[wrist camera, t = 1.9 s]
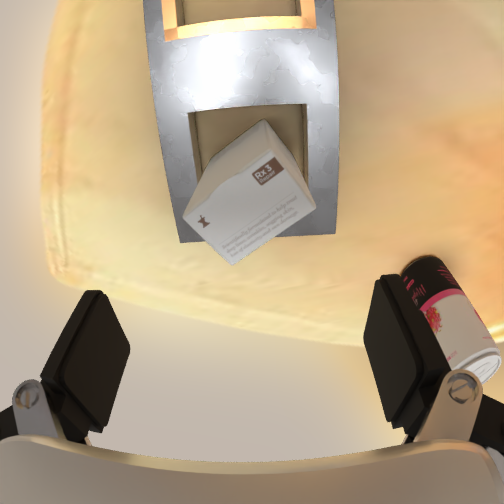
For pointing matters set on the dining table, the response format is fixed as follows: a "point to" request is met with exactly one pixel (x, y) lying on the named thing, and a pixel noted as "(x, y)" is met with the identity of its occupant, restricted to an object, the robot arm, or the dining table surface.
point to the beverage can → (452, 318)
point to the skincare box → (248, 194)
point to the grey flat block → (246, 92)
